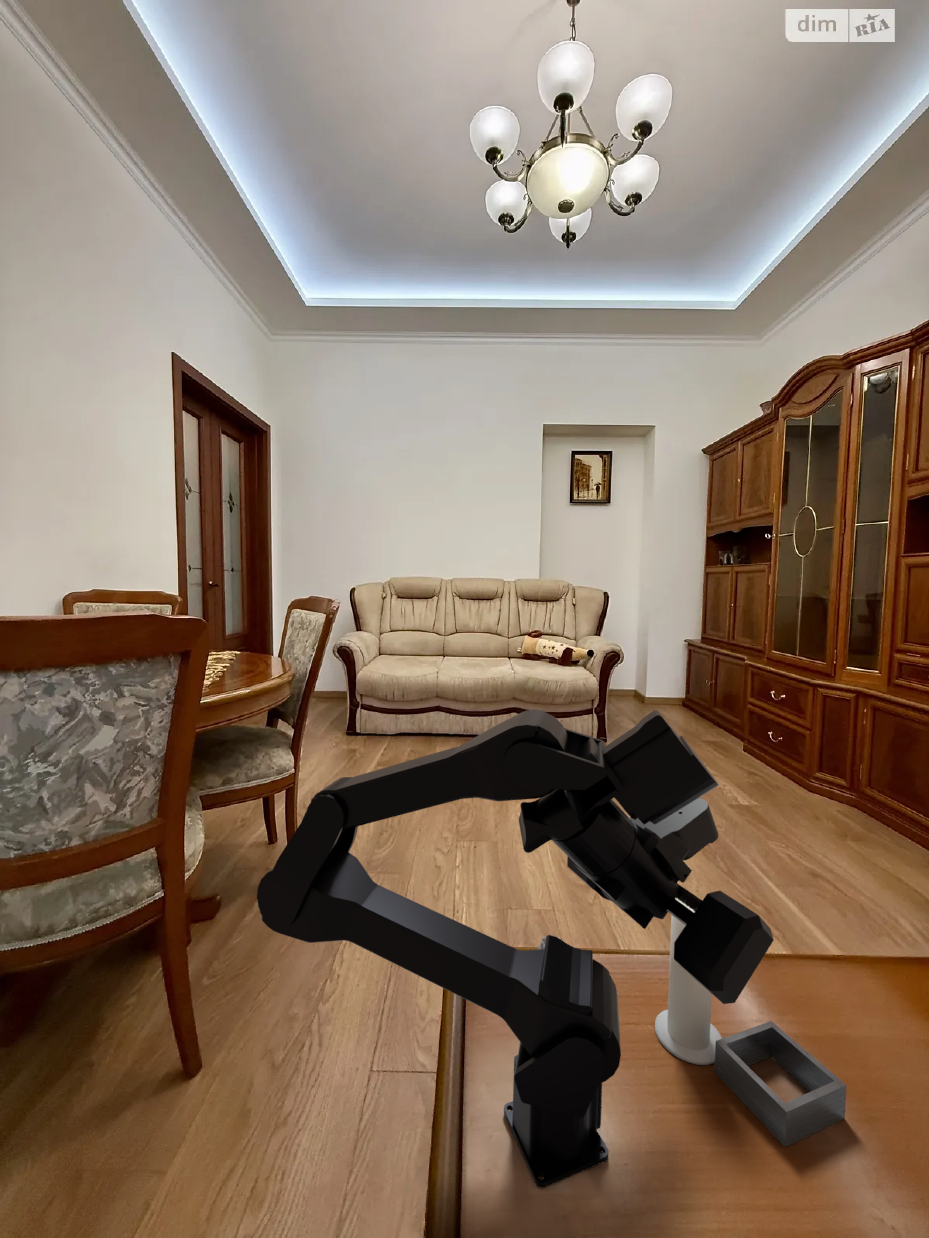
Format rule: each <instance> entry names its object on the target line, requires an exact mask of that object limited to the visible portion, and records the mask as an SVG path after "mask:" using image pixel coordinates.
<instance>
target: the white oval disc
mask: <svg viewBox="0 0 929 1238" xmlns="http://www.w3.org/2000/svg"><path fill="white" fill-rule="evenodd" d="M667 1018H668V1008H667V1009H664V1010H662V1011H661V1012H660V1013H658V1015H656V1018H655V1021H654V1023H655V1024H654V1030H655V1033H656V1034H655V1035H656V1037H657V1040H658V1041H659V1042H660V1044H661V1045H662V1046H663V1047H664V1048H665V1049H666V1050H667V1051H668V1052H669V1054H671V1055H673V1056H675V1057H677V1058H678V1059H679V1060H682V1061H684V1062H687V1063H689V1064H693V1065H697V1066H698V1065H699V1066H709V1065H713V1064H715V1044H716V1041H717V1040H720V1039H722V1038H723V1037H722V1035H721V1034H720V1031H718V1029H717V1028H716V1027H715V1026H714V1024H712V1023H711V1024H710V1043H709V1045H708V1047H707V1048H705V1049H703V1050H691V1049H687V1048H685V1047H683V1046H681V1045H679V1044H678V1043H677V1042H675V1041H674V1040H673V1039H672V1037H671V1036H670V1035H669V1033H668V1030H667Z"/></svg>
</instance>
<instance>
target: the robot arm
mask: <svg viewBox="0 0 929 1238" xmlns="http://www.w3.org/2000/svg"><path fill="white" fill-rule="evenodd" d="M719 786H720V785H719V782H718V781H717V780H716V779H715V777H714V776H713V774H712V773H711V772H710V770H709V769H708V768H707V766H706V765H705V763H704V762H703V761H702V760H701V758H700V756H698V755H697V753H696V751H695V750H694V749H693V748H692V747H691V745H690V744H689V743H688V741H687V740H686V739H685V738H684V736H683V735H681V736H679V734H678V733H677V731H675V729H674V728H673V727H672V726H671V725H670V723H669V722H668V721H667V720H666V719H665V718H664V716H663V715H662V714H661V712H660V711H659V710H655V709H654V710H653V711H651V712H650V713H648V714H647V715H645V716H644V717H642V718H641V719H640V721H638V723H637V724H636V725H635V726H634V727H632V728H631V729H629V730H628V731H626V732H624V733H623V734H621V735H620V736H619V737H617V738H616V739H614V740H613V741H611V742H609V743H608V744H606V742H605V741H604V740H602V739H599V738H597V737H594V736H590V735H588V734H584V733H582V732H581V733H580V732H578V731H574V730H571V729H569V728H565V727H564V725H563V724H562V723H561V721H560V720H559V719H557V718H556V716H554V715H552V714H550V713H548V712H546V711H544V710H540V709H530V710H529V709H528V710H524V711H522V712H520V713H518V714H515V715H514V716H512V717H510V718H508V719H506V720H504V721H501V722H500V723H497V724H496V725H494V726H492V727H491V728H489V729H487V730H485V731H484V732H482V733H480V734H478V735H477V736H475V737H473V738H472V739H469V740H468V741H466V742H463V743H462V744H459V745H458V746H454V747H451V748H448V749H444V750H442V751H438V752H434V753H430V754H427V755H424V756H421V757H420V756H419V757H417V758H413V759H409V760H406V761H403V762H399V763H397V764H393V765H389V766H386V767H383V768H379V769H376V770H373V771H369V772H365V773H362V774H358V775H355V776H350V777H349V776H343V777H340V778H338V779H336V780H334V781H332V782H331V783H330V784H328V785H326V787H324V788H323V789H321V790H319V791H318V792H317V793H315V795H314V796H313V797H312V798H311V800H310V802H309V804H308V806H307V809H306V811H305V813H304V816H303V817H302V820H301V822H300V824H298V827H297V828H296V830H295V831H294V833H293V834H292V836H291V837H290V839H289V840H288V842H287V844H286V845H285V847H284V849H283V850H282V852H281V854H280V855H279V856H278V858H277V860H276V862H275V863H274V866H273V867H272V868H271V869H270V870H269V871H267V873H266V874H265V875H264V876H262V878H261V879H260V880H259V884H258V885H257V890H256V901H257V906H258V908H259V913H260V915H261V921H262V922H263V923H264V925H265V926H266V927H268V928H269V929H270V930H271V931H273V932H275V933H277V934H279V935H282V936H285V937H289V938H292V939H295V940H298V941H300V942H305V943H309V944H312V943H327V942H328V943H329V942H330V943H331V942H343V941H344V942H349V943H352V944H354V945H356V946H358V947H360V948H362V949H364V950H366V951H368V952H370V953H372V954H374V955H376V956H378V957H380V958H382V959H384V960H386V961H389V962H390V963H392V964H394V965H396V966H397V967H401V968H402V969H404V970H406V971H408V972H409V973H412V974H415V975H416V976H418V977H421V978H422V979H425V980H426V981H428V982H431V983H432V984H434V985H436V986H439V987H440V988H443V989H444V990H446V991H449V992H450V993H452V994H453V995H456V996H458V997H460V998H462V999H464V1000H466V1001H469V1002H470V1003H472V1004H474V1005H476V1006H479V1007H481V1008H482V1009H484V1010H486V1011H489V1013H492V1014H494V1015H496V1016H497V1017H499V1018H501V1019H502V1020H503V1022H504V1023H505V1024H506V1025H507V1026H508V1028H509V1029H510V1030H511V1032H512V1033H513V1035H515V1037H516V1038H517V1040H518V1041H519V1047H518V1053H517V1055H515V1056H514V1057H513V1085H512V1087H513V1089H512V1101H508V1102H507V1103H505V1104H504V1107H503V1114H504V1116H505V1119H506V1121H507V1124H508V1126H509V1128H510V1130H511V1133H512V1135H513V1137H514V1139H515V1142H516V1144H517V1146H518V1148H519V1150H520V1153H521V1156H522V1157H523V1159H524V1162H525V1164H526V1166H527V1168H528V1171H529V1172H530V1175H531V1178H532V1180H533V1182H534V1183H535V1185H536V1187H538V1188H540V1189H544V1188H546V1187H549V1186H551V1185H553V1184H556V1183H558V1182H561V1181H562V1180H566V1179H567V1178H570V1177H572V1176H574V1175H577V1174H579V1173H581V1172H584V1171H587V1170H588V1169H591V1168H593V1167H596V1166H598V1165H601V1164H603V1163H605V1162H607V1161H608V1159H609V1149H608V1147H607V1145H606V1144H605V1142H604V1139H603V1138H602V1137H601V1135H600V1133H599V1132H598V1130H599V1129H601V1126H602V1103H603V1102H602V1101H603V1099H602V1097H603V1083H605V1082H607V1081H608V1080H609V1079H611V1078H612V1077H614V1075H615V1074H616V1072H617V1070H618V1069H619V1067H620V1061H621V1058H622V1057H621V1055H622V1052H621V1051H622V1050H621V1032H620V1030H621V1029H620V1016H619V996H618V991H617V990H618V989H617V986H616V984H615V981H614V979H613V978H612V976H611V974H610V971H609V970H608V968H606V967H605V966H604V964H602V963H601V962H598V960H596V959H593V957H594V956H593V951H592V950H591V949H580V948H577V947H574V946H573V945H570V944H568V943H566V942H565V941H564V940H563V939H562V938H561V939H559V938H560V937H559V936H555V935H553V936H551V935H552V934H548V935H545V937H546V942H545V948H544V949H539V950H537V949H530V950H527V949H526V950H521V949H518V948H515V947H513V946H512V945H509V944H506V943H505V942H502V941H500V940H498V939H495V938H494V937H491V936H490V935H487V934H485V933H482V932H481V931H478V930H476V929H475V928H472V927H470V926H467V925H466V924H464V923H461V922H459V921H457V920H455V919H453V918H450V917H448V916H446V915H444V914H442V913H440V912H437V911H436V910H434V909H431V908H429V907H426V906H425V905H422V904H421V903H418V902H416V901H414V900H411V899H410V898H408V897H405V896H404V895H401V894H399V893H397V892H395V891H392V890H390V889H388V888H386V887H384V886H382V885H379V884H378V883H376V882H375V881H374V880H373V879H372V877H371V876H370V875H369V873H368V872H367V870H366V869H365V868H364V866H363V864H362V863H361V862H360V860H359V859H358V857H356V856H355V855H353V854H352V853H351V852H350V851H351V849H352V847H353V844H354V842H355V840H356V837H357V833H358V829H359V826H364V825H368V824H371V823H375V822H379V821H380V822H381V821H382V820H387V819H390V818H394V817H399V816H402V815H405V814H409V813H413V812H416V811H421V810H424V809H429V808H432V807H436V806H439V805H444V804H448V803H451V802H455V801H458V800H462V799H463V800H465V799H481V800H486V801H488V800H489V801H494V802H506V801H521V800H533V799H534V800H533V801H527V802H526V801H523V802H521V803H520V805H519V806H520V815H519V817H518V824H519V830H520V835H521V842H522V847H523V851H524V853H526V854H531V853H532V852H533V851H536V850H537V849H538V848H540V847H542V846H543V845H545V844H546V843H548V842H549V841H551V842H553V843H554V844H555V845H556V846H557V847H558V848H559V849H560V850H561V851H562V852H563V853H564V854H565V855H566V856H567V857H566V858H567V859H566V860H567V861H566V862H567V863H566V865H567V868H568V869H570V871H571V872H573V874H575V875H576V876H577V878H579V879H580V880H581V881H582V882H583V883H584V884H586V885H587V886H588V887H589V888H590V889H591V890H593V891H595V892H596V893H597V894H598V895H599V896H600V897H601V898H603V899H605V900H608V901H610V902H612V903H613V904H615V906H616V907H618V908H619V909H620V910H621V911H622V912H623V913H625V914H626V915H627V916H628V917H629V918H630V919H632V920H633V921H634V922H635V923H636V924H637V925H638V926H640V927H641V928H642V929H644V930H646V928H647V927H648V925H649V924H650V923H651V921H652V920H653V918H656V919H659V920H664V918H666V915H667V914H668V913H669V914H670V915H671V916H672V915H673V916H674V917H675V918H677V919H678V920H679V921H681V922H682V923H683V924H685V925H686V926H685V927H684V929H683V930H682V932H681V933H680V935H679V936H678V938H677V939H676V941H675V942H674V960H675V961H676V962H677V963H678V964H679V965H680V966H681V967H682V968H683V969H685V970H686V971H687V972H688V973H689V974H690V975H691V976H692V977H693V978H694V979H695V980H697V981H698V982H699V983H700V984H701V985H702V986H703V987H705V988H706V989H707V990H708V991H709V992H710V993H711V994H712V995H713V997H715V998H716V999H717V1000H718V1001H719V1002H721V1003H722V1005H729V1004H734V1003H736V1002H737V1000H738V999H739V997H740V995H741V994H742V992H743V990H744V989H745V987H746V985H747V984H748V982H749V981H750V979H751V977H752V976H753V974H755V972H756V969H757V968H758V966H759V965H760V963H761V961H762V960H763V958H764V957H765V955H766V953H767V952H768V950H769V948H770V947H771V946H772V945H773V944H772V943H774V941H775V940H774V936H773V932H772V929H771V928H770V926H769V925H768V924H767V923H766V921H764V920H763V918H762V917H761V916H760V915H759V914H757V913H756V912H755V911H753V910H752V909H750V908H749V907H746V906H745V905H743V904H742V903H740V902H738V900H736V899H734V898H733V897H731V896H729V895H727V894H726V893H725V892H723V891H722V890H716V891H712V892H709V893H706V895H705V896H704V898H703V899H701V898H699V897H698V896H696V895H695V894H694V893H692V892H691V891H690V890H688V889H686V888H685V887H683V886H682V885H681V884H679V882H680V883H683V884H684V883H685V882H686V880H687V879H688V878H689V876H690V874H691V873H692V871H693V870H692V869H691V868H690V867H689V866H688V865H687V863H686V862H685V861H687V860H689V859H690V860H691V858H694V856H695V855H696V854H698V853H699V852H700V851H701V850H703V849H704V848H706V847H707V846H708V845H709V844H713V843H715V842H716V841H717V840H718V838H719V831H718V828H717V826H716V822H715V820H714V817H713V814H712V811H711V808H710V806H709V803H708V802H707V800H705V799H703V798H701V797H702V796H704V795H706V794H707V793H709V792H710V791H712V790H714V789H716V788H717V787H719ZM535 799H536V800H535ZM613 799H615V800H616V801H617V802H618V804H619V805H620V806H621V807H622V808H620V806H619V805H618V804H617V803H616V802H615V801H614V800H613ZM623 810H624V811H623ZM625 812H626V813H627V814H626V813H625ZM676 899H678V900H679V901H681V902H682V903H685V904H686V906H689V907H690V908H691V909H693V910H694V911H695V912H692V911H691V910H690V909H688V908H687V907H685V906H684V905H683V904H681V903H680V902H678V901H677V900H676ZM558 937H559V938H558Z"/></svg>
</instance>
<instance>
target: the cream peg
mask: <svg viewBox="0 0 929 1238" xmlns="http://www.w3.org/2000/svg"><path fill="white" fill-rule="evenodd" d="M675 899H676V900H677V901H678V902H680V903H681V904H683V905H684V906H685V907H687V908H688V909H690V910H691V911H692V912H695V911H694V910H693V909H691V908H690V907H689V906H686V904H685V903H682V902H681V901H679V900H678V899H677V898H675ZM670 919H671V921H670V922H671V923H670V941H669V942H670V943H669V945H670V946H669V947H670V948H669V949H670V950H669V967H668V969H669V971H668V973H669V975H668V997H667V1009H668V1018H667V1030H668V1033H669V1035H670V1036H671V1037H672V1039H673V1040H674V1041H675V1042H677V1043H678V1044H679V1045H681V1046H683V1047H685V1048H687V1049H691V1050H703V1049H705V1048H707V1047H708V1045H709V1043H710V1024H712V1022H711V1021H712V1020H711V1019H712V1002H713V1001H712V998H713V996H712V995H713V994H711V993H710V992H709V991H708V990H707V989H706V988H705V987H703V986H702V985H701V984H700V983H699V982H698V981H697V980H695V979H694V978H693V977H692V976H691V975H690V974H689V973H688V972H687V971H686V970H685V969H683V968H682V967H681V966H680V965H679V964H678V963H677V962H676V961H675V960H674V942H675V941H676V939H677V938H678V936H679V935H680V933H681V932H682V930H683V929H684V927H685V926H686V925H685V924H683V923H682V922H681V921H679V920H678V919H677V918H675V917H674V916H673V915H672V914H671V918H670Z"/></svg>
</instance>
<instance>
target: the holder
mask: <svg viewBox="0 0 929 1238" xmlns="http://www.w3.org/2000/svg"><path fill="white" fill-rule="evenodd" d="M770 1058H772V1059H773V1060H774V1061H775V1062H776V1063H777V1064H778V1065H779V1066H780V1067H781V1068H782V1069H784V1071H786V1072H787V1073H788V1074H789V1075H790V1076H791V1077H792V1078H793V1079H794V1080H795V1081H796V1082H798V1083H799V1084H800V1086H802V1087H803V1088H804V1089H805V1090H806V1091H807V1093H805V1094H802V1095H800V1096H798V1097H795V1098H793V1099H791V1100H789V1101H786V1102H785V1101H783V1099H782V1098H780V1097H779V1096H778V1095H777V1094H776V1092H774V1090H772V1089H771V1088H770V1087H769V1086H768V1084H766V1082H764V1081H763V1079H761V1077H760V1076H758V1075H757V1074H756V1073H755V1072H754V1071H753V1070H752V1069H751V1068H750V1066H751V1065H754V1064H756V1063H758V1062H762V1061H763V1060H766V1059H770ZM713 1069H714V1071H713V1072H714V1073H715V1074H716V1075H717V1076H718V1077H719V1078H720V1079H721V1081H722V1082H723V1083H724V1084H725V1085H726V1086H727V1087H728V1088H729V1089H730V1090H731V1091H732V1093H734V1095H735V1096H736V1097H737V1098H738V1099H739V1100H740V1101H741V1102H742V1103H743V1104H744V1105H745V1107H746V1108H747V1109H748V1110H750V1112H751V1113H752V1114H753V1115H754V1116H755V1117H756V1118H757V1119H758V1120H759V1122H761V1124H762V1125H763V1126H764V1127H766V1129H767V1130H768V1131H769V1133H771V1134H772V1136H773V1137H775V1139H776V1140H778V1142H779V1143H780V1144H781V1145H782V1146H783V1147H784V1148H787V1147H788V1146H790V1145H793V1144H796V1143H797V1142H799V1141H802V1140H804V1139H805V1138H807V1137H809V1136H812V1135H813V1134H815V1133H817V1132H820V1131H821V1130H824V1129H826V1128H828V1127H830V1126H832V1125H834V1124H837V1123H838V1122H840V1121H842V1120H845V1118H846V1104H847V1103H846V1101H847V1100H846V1099H847V1084H846V1083H845V1082H843V1080H842V1079H840V1078H839V1076H837V1075H835V1074H834V1073H833V1072H832V1071H831V1070H830V1069H828V1068H827V1067H826V1066H825V1065H824V1064H823V1063H821V1062H820V1061H819V1060H818V1059H817V1058H816V1057H815V1056H814V1055H812V1054H811V1053H810V1052H808V1051H807V1050H806V1049H805V1048H804V1047H802V1046H801V1045H800V1044H799V1043H798V1042H797V1041H795V1040H794V1038H792V1037H791V1036H790V1035H788V1034H787V1033H786V1032H784V1030H782V1028H780V1027H779V1026H778V1025H777V1024H776V1023H775V1022H774V1021H772V1020H769V1021H767V1022H764V1023H761V1024H758V1025H755V1026H752V1027H750V1028H748V1029H746V1030H742V1031H739V1032H737V1033H734V1034H731V1035H728V1036H726V1037H722V1039H720V1040H717V1041H716V1044H715V1063H714V1068H713Z"/></svg>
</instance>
